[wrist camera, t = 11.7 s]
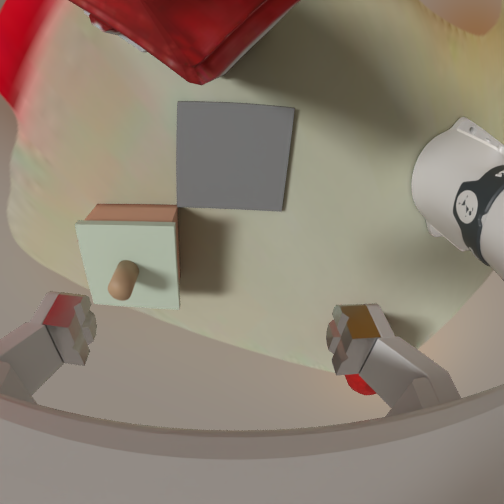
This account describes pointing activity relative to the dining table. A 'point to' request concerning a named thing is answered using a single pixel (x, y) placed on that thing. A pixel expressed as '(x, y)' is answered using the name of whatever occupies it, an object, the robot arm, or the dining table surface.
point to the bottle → (189, 30)
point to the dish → (138, 216)
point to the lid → (130, 262)
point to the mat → (232, 155)
